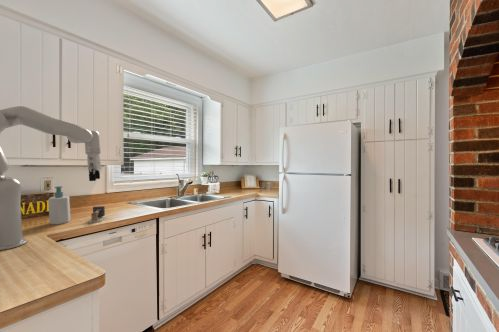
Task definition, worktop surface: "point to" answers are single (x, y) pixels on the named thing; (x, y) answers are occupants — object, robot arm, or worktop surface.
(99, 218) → the pipe rig
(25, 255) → the worktop surface
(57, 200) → the soap bottle
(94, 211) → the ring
